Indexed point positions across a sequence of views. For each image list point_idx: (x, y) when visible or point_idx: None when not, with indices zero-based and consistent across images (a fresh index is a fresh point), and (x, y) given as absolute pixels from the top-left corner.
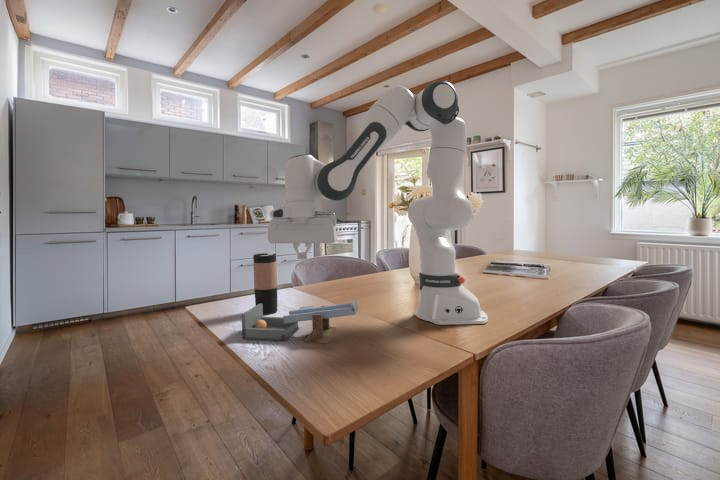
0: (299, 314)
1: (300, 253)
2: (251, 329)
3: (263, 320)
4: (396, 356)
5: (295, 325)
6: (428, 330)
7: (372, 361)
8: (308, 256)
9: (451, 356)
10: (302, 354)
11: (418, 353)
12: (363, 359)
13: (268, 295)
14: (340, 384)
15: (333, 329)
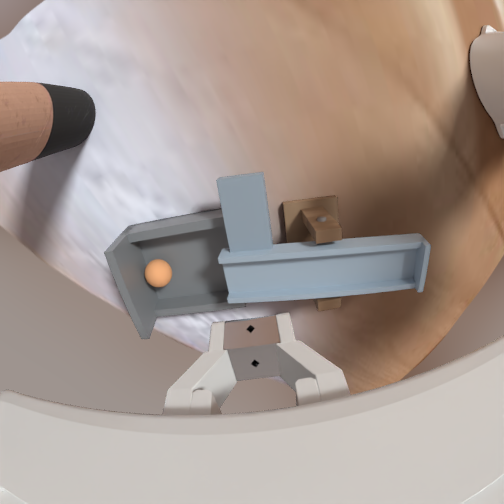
0: (275, 300)
1: (245, 375)
2: (169, 315)
3: (161, 277)
4: (440, 287)
5: None
6: (489, 167)
7: (410, 311)
8: (289, 318)
9: (490, 264)
10: (306, 326)
11: (464, 268)
12: (399, 310)
13: (57, 142)
14: (373, 365)
15: (335, 216)
